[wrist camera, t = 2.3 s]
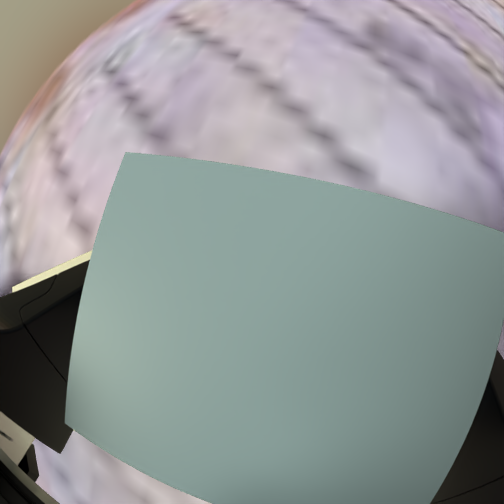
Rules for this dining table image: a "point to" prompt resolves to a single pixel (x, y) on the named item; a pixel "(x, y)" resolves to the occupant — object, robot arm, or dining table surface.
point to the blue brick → (282, 335)
